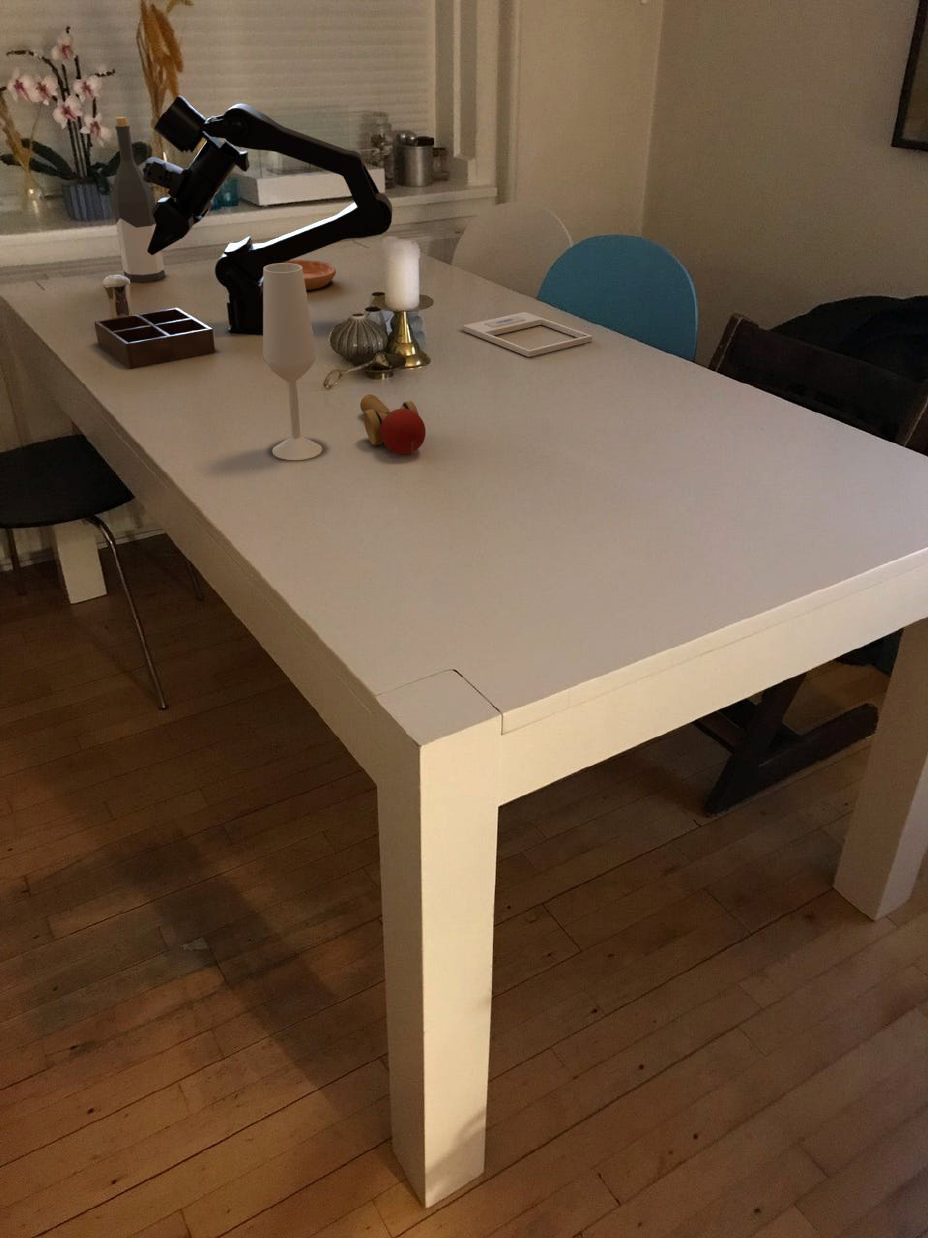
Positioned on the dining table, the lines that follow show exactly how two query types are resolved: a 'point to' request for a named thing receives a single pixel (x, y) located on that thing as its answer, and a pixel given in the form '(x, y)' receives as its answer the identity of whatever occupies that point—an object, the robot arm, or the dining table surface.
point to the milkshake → (118, 295)
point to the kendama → (393, 425)
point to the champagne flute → (288, 345)
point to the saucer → (315, 272)
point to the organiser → (154, 337)
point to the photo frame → (519, 322)
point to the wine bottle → (134, 214)
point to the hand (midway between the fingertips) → (156, 246)
